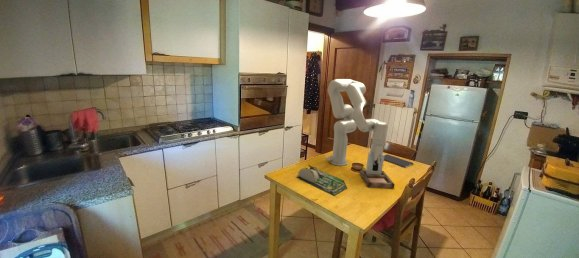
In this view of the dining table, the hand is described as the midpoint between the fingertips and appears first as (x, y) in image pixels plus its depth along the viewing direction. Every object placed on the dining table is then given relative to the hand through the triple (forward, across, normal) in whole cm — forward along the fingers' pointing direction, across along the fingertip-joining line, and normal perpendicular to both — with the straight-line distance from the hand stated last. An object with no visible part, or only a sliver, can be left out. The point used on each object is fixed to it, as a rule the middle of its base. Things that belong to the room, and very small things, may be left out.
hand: (374, 169), depth 151 cm
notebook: (+7, -31, +27) cm, 42 cm away
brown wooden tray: (+6, +6, 0) cm, 8 cm away
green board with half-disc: (+7, +6, -33) cm, 35 cm away
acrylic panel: (+5, 0, 0) cm, 5 cm away
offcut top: (+5, +9, 0) cm, 10 cm away
